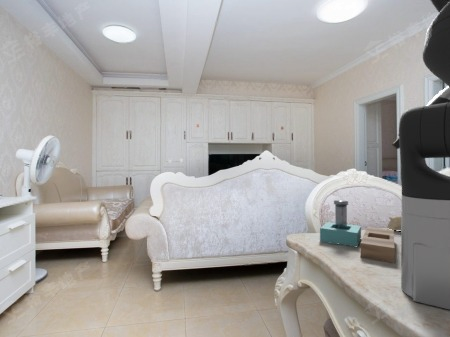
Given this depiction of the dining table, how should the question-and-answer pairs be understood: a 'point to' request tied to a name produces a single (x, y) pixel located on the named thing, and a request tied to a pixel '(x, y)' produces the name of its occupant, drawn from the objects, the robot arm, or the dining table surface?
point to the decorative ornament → (395, 223)
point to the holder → (340, 234)
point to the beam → (378, 244)
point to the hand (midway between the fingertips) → (403, 145)
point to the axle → (341, 214)
